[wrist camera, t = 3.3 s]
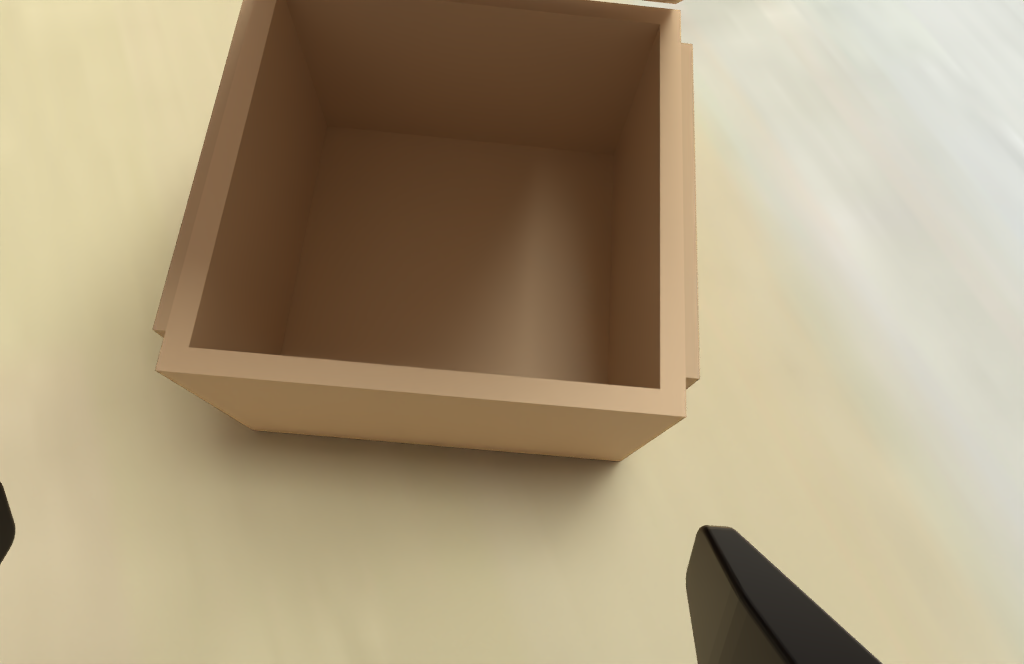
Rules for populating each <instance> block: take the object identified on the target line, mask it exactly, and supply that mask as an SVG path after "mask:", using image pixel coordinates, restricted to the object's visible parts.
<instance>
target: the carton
mask: <svg viewBox="0 0 1024 664" xmlns="http://www.w3.org/2000/svg"><path fill="white" fill-rule="evenodd" d="M153 330H154V331H155V332H156V333H158V334H159V335H161V336H162V337H163V338H164V339H163V342H162V346H161V350H160V354H159V357H158V361H157V365H156V369H155V371H157V372H159V373H160V374H162V375H164V376H165V377H167V378H168V379H170V380H172V381H173V382H175V383H177V384H178V385H180V386H182V387H183V388H185V389H186V390H188V391H190V392H191V393H193V394H195V395H196V396H198V397H199V398H201V399H203V400H204V401H206V402H208V403H209V404H211V405H213V406H214V407H216V408H217V409H219V410H221V411H222V412H224V413H226V414H227V415H229V416H230V417H232V418H234V419H235V420H237V421H239V422H240V423H242V424H244V425H245V426H247V427H248V428H250V429H252V430H257V431H269V432H281V433H293V434H304V435H316V436H328V437H340V438H351V439H363V440H375V441H387V442H398V443H410V444H422V445H433V446H445V447H457V448H469V449H480V450H492V451H504V452H516V453H527V454H539V455H551V456H563V457H574V458H586V459H598V460H610V461H622V460H623V459H625V458H626V457H628V456H629V455H631V454H632V453H633V452H635V451H636V450H638V449H639V448H641V447H642V446H644V445H645V444H647V443H648V442H650V441H651V440H653V439H654V438H656V437H657V436H659V435H660V434H662V433H663V432H665V431H666V430H668V429H669V428H671V427H672V426H673V425H675V424H676V423H678V422H679V421H681V420H682V419H684V418H685V417H686V389H687V388H689V387H690V386H691V385H692V384H694V383H695V382H696V381H697V380H699V379H700V369H699V323H698V277H697V231H696V185H695V138H694V92H693V46H692V44H687V43H681V13H680V10H674V9H665V8H655V7H646V6H637V5H628V4H618V3H609V2H600V1H591V0H243V2H242V6H241V10H240V13H239V17H238V20H237V24H236V28H235V31H234V35H233V39H232V42H231V46H230V50H229V53H228V57H227V60H226V64H225V68H224V71H223V75H222V79H221V82H220V86H219V90H218V93H217V97H216V100H215V104H214V108H213V111H212V115H211V119H210V122H209V126H208V130H207V133H206V137H205V141H204V144H203V148H202V151H201V155H200V159H199V162H198V166H197V170H196V173H195V177H194V181H193V184H192V188H191V191H190V195H189V199H188V202H187V206H186V210H185V213H184V217H183V221H182V224H181V228H180V231H179V235H178V239H177V242H176V246H175V250H174V253H173V257H172V261H171V264H170V268H169V271H168V275H167V279H166V282H165V286H164V290H163V293H162V297H161V301H160V304H159V308H158V311H157V315H156V319H155V322H154V326H153Z"/></svg>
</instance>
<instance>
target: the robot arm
mask: <svg viewBox="0 0 1024 664" xmlns="http://www.w3.org/2000/svg"><path fill="white" fill-rule="evenodd" d="M14 536H15V523H14V520H13V517H12V514H11V510H10V507H9V504H8V501H7V497H6V494H5V491H4V488H3V485H2V483H1V482H0V564H1V562H2V561H3V559H4V557H5V556H6V554H7V552H8V551H9V549H10V547H11V545H12V543H13V540H14ZM686 591H687V598H688V604H689V610H690V617H691V623H692V629H693V636H694V642H695V648H696V655H697V661H698V664H882V663H881V662H880V661H879V660H878V659H877V658H876V657H874V656H873V655H872V654H871V653H870V652H869V651H868V650H867V649H866V648H865V647H863V646H862V645H861V644H860V643H859V642H858V641H857V640H856V639H855V638H854V637H852V636H851V635H850V634H849V633H848V632H847V631H846V630H845V629H844V628H843V627H841V626H840V625H839V624H838V623H837V622H836V621H835V620H834V619H833V618H832V617H830V616H829V615H828V614H827V613H826V612H825V611H824V610H823V609H822V608H821V607H819V606H818V605H817V604H816V603H815V602H814V601H813V600H812V599H811V598H810V597H808V596H807V595H806V594H805V593H804V592H803V591H802V590H801V589H800V588H799V587H797V586H796V585H795V584H794V583H793V582H792V581H791V580H790V579H789V578H788V577H786V576H785V575H784V574H783V573H782V572H781V571H780V570H779V569H778V568H777V567H775V566H774V565H773V564H772V563H771V562H770V561H769V560H768V559H767V558H766V557H764V556H763V555H762V554H761V553H760V552H759V551H758V550H757V549H756V548H755V547H753V546H752V545H751V544H750V543H749V542H748V541H747V540H746V539H745V538H744V537H742V536H741V535H740V534H739V533H738V532H737V531H736V530H734V529H733V528H730V527H724V526H709V525H704V526H702V527H700V528H699V530H698V532H697V534H696V538H695V542H694V546H693V549H692V553H691V557H690V561H689V564H688V568H687V573H686Z"/></svg>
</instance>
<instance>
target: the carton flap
mask: <svg viewBox="0 0 1024 664" xmlns="http://www.w3.org/2000/svg"><path fill="white" fill-rule="evenodd" d="M644 1H653V2H662V3H672V4H677V3H679V2H680V1H682V0H644Z"/></svg>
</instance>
